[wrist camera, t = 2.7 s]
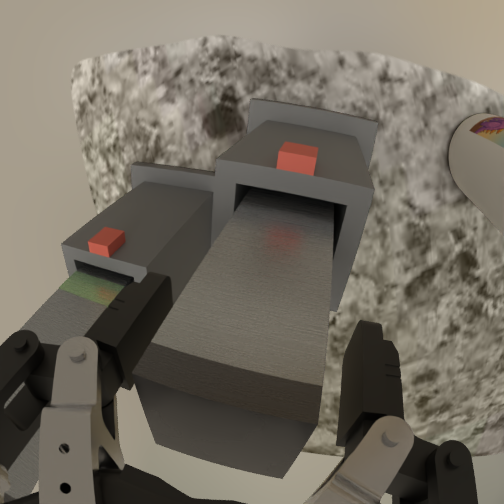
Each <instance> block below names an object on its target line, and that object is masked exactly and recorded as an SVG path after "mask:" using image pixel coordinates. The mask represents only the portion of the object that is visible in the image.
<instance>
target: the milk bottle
mask: <svg viewBox="0 0 504 504" xmlns="http://www.w3.org/2000/svg"><path fill="white" fill-rule="evenodd" d="M449 166H450V171H451V174H452V177H453V179H454V181H455V183H456V184H457V186H458V187H459V188H460V189H461V191H462V192H463V193H464V194H465V195H466V196H467V197H468V198H469V199H470V200H471V201H472V202H473V203H474V204H475V205H476V206H477V208H478V209H479V210H480V211H481V212H482V213H483V214H484V215H485V216H486V217H487V218H488V219H489V220H490V222H491V223H492V224H493V225H494V226H495V227H496V228H497V229H498V230H499V231H500V233H501V234H502V235H503V236H504V118H503V117H500V116H497V115H492V114H486V113H482V114H476V115H473V116H471V117H469V118H467V119H466V120H465V121H463V122H462V123H461V124H460V126H459V127H458V128H457V130H456V131H455V133H454V135H453V137H452V140H451V143H450V148H449Z"/></svg>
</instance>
